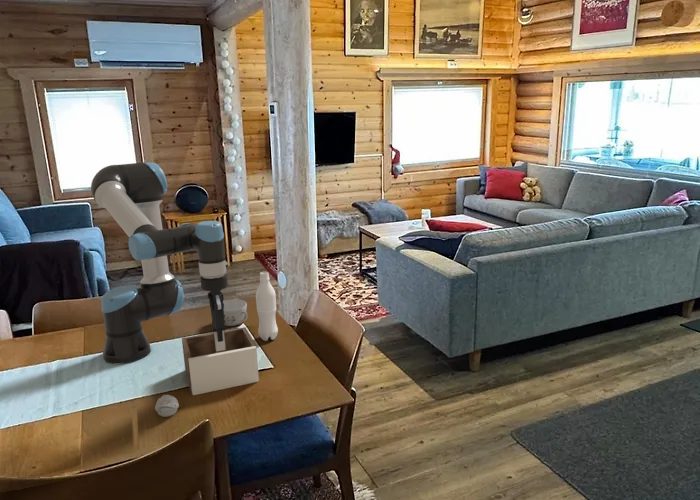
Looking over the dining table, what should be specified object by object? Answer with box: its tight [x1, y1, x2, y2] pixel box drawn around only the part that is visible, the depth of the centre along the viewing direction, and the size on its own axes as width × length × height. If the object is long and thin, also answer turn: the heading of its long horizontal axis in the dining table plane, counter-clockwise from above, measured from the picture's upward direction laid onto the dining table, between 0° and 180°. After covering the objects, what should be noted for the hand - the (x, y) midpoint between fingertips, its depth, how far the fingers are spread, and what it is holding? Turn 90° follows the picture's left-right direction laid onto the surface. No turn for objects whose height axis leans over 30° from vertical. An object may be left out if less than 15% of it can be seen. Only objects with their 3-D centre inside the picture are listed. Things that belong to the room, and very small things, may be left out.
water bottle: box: [255, 271, 279, 342], centre depth 192 cm, size 7×7×25 cm
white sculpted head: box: [154, 394, 180, 418], centre depth 144 cm, size 6×7×7 cm
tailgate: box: [188, 345, 260, 396], centre depth 156 cm, size 19×2×11 cm, turn 113°
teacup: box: [223, 298, 248, 327], centre depth 207 cm, size 15×12×8 cm
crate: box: [181, 327, 257, 394], centre depth 164 cm, size 20×15×12 cm
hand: (220, 349), depth 160 cm, fingers closed
